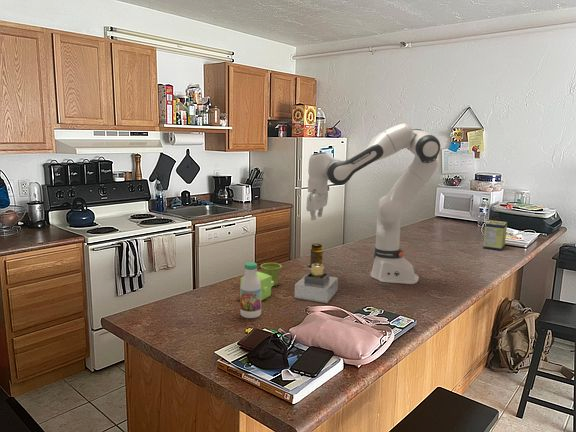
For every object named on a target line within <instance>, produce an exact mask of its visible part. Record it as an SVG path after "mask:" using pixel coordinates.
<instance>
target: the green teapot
mask: <svg viewBox="0 0 576 432" xmlns="http://www.w3.org/2000/svg"><path fill="white" fill-rule="evenodd" d="M256 271H257V270H256ZM257 275H258V278H259V280H260V283H261V301H263V300H265V299H267V298H269V297H271V295H272V287H273V286H274V281H272V276H270V275H268V274H265V273H263V271H262V272H261V271H257ZM243 277H244V275H243V276H241V277H240V279H239V284H240V285H239V297H240V296H241V282H242V279H243ZM274 287H275V286H274Z"/></svg>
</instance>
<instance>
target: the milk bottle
mask: <svg viewBox="0 0 576 432" xmlns="http://www.w3.org/2000/svg"><path fill="white" fill-rule="evenodd" d="M244 270H245V271H244V272H245V273H244V275H243V276H244V277H243V276H242V277H243V279H242V282H241V296H240V295H239V299H240V300H239V301H240V315H241V317H242V318H244V319H245V318H246V319H255V318H259V317H260V316H261V314H262V300H261V283H260V280H259V278H258V275H257V270H258V263H256V262H251V261H249V262H246V263H244Z"/></svg>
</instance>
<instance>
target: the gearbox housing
mask: <svg viewBox="0 0 576 432" xmlns="http://www.w3.org/2000/svg"><path fill="white" fill-rule="evenodd" d="M338 284H339V277H336V276H330V273H326V272H323V279H321V278H314V277H311V271H309V272H308V273H306V274H305V275H304V276H303V277H302V278H301V279H299V280H298V281H297V282H295V284H294V299H299V300H305V301H309V302H310V301H311V302H317V303H324V304H328V303H329V301H330V300H331V299H332V298H333V297H334V296H335V294H336V293H337V292H338V286H339V285H338Z"/></svg>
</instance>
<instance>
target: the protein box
mask: <svg viewBox="0 0 576 432" xmlns="http://www.w3.org/2000/svg"><path fill="white" fill-rule="evenodd" d="M507 228H508V221H502V220H501V221H500V220H492V219H489V220H488V221H487V222H486V223H485V226H484V237H483V245H482V248H483V249H485V250H493V251H498V252H499V251H500V252H502V250H503V249H504V247H505V246H506V238H507Z"/></svg>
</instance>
